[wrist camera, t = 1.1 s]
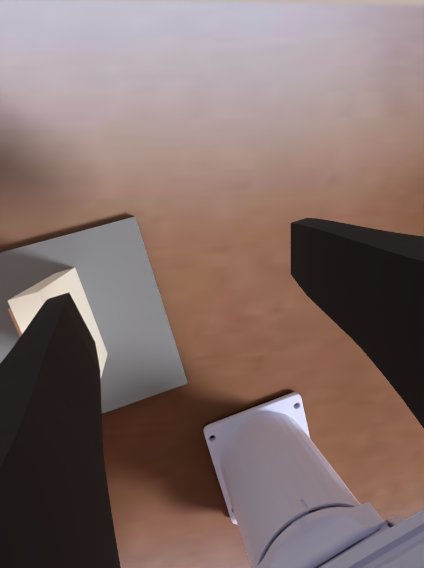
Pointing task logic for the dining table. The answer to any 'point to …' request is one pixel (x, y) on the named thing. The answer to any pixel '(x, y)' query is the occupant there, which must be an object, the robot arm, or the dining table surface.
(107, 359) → the mat
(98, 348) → the tile
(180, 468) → the dining table surface
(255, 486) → the robot arm
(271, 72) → the dining table surface
